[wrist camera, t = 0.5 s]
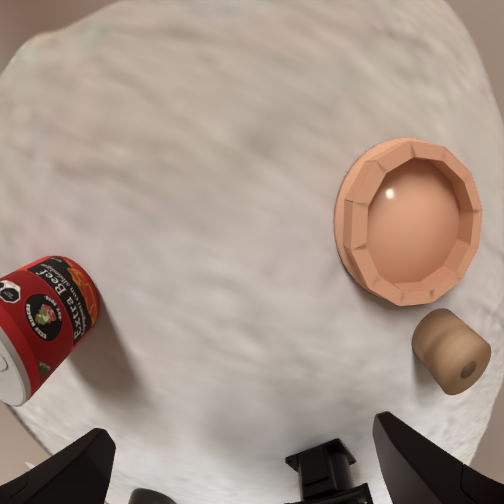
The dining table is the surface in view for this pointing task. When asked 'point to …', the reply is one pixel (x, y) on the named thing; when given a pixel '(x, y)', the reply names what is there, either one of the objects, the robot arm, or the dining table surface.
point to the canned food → (41, 322)
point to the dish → (407, 221)
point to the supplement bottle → (148, 497)
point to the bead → (450, 350)
